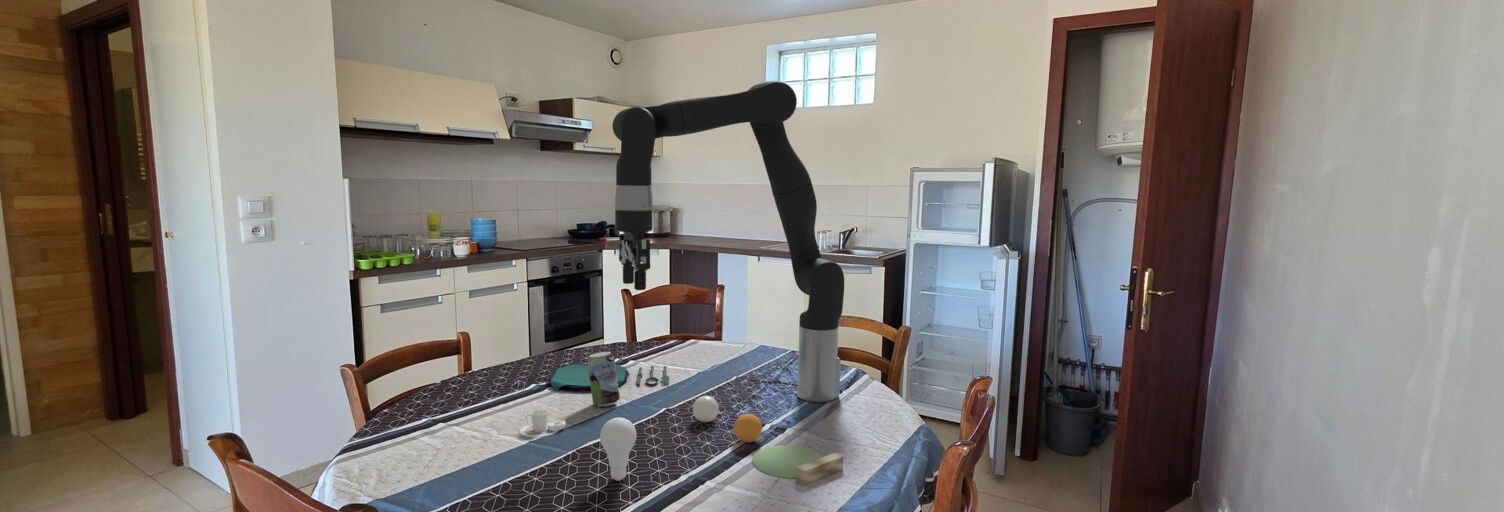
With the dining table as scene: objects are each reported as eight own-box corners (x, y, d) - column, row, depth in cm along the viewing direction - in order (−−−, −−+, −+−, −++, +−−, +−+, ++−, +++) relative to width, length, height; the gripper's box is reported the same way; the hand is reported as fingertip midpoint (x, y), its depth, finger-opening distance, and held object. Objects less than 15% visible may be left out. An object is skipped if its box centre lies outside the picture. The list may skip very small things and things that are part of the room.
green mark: (803, 441, 136) (803, 440, 136) (842, 469, 123) (842, 468, 123) (739, 453, 129) (739, 452, 129) (774, 483, 117) (774, 482, 117)
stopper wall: (834, 465, 125) (834, 452, 124) (842, 469, 123) (843, 456, 123) (795, 481, 118) (795, 467, 118) (803, 485, 117) (804, 471, 116)
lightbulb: (602, 472, 120) (602, 412, 119) (637, 472, 120) (637, 412, 119) (598, 488, 114) (597, 425, 113) (634, 487, 114) (634, 424, 113)
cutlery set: (555, 371, 181) (555, 363, 181) (668, 369, 186) (668, 361, 185) (542, 395, 162) (542, 386, 162) (669, 392, 166) (669, 383, 166)
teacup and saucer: (571, 428, 142) (571, 409, 141) (547, 442, 134) (547, 422, 134) (535, 422, 144) (535, 404, 144) (511, 435, 137) (510, 416, 136)
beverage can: (613, 410, 151) (613, 357, 150) (582, 407, 153) (582, 355, 151) (624, 401, 157) (624, 350, 156) (594, 398, 159) (594, 348, 157)
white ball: (712, 415, 149) (712, 391, 149) (722, 423, 144) (722, 398, 144) (688, 418, 147) (689, 394, 146) (698, 427, 142) (698, 402, 141)
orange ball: (754, 434, 139) (754, 408, 138) (766, 444, 134) (767, 417, 133) (729, 438, 136) (730, 412, 136) (741, 448, 132) (741, 421, 131)
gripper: (662, 209, 134) (662, 291, 136) (641, 206, 146) (641, 280, 148) (625, 209, 130) (625, 293, 132) (606, 206, 143) (607, 282, 145)
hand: (634, 286), depth 140 cm, fingers open, 8 cm apart
